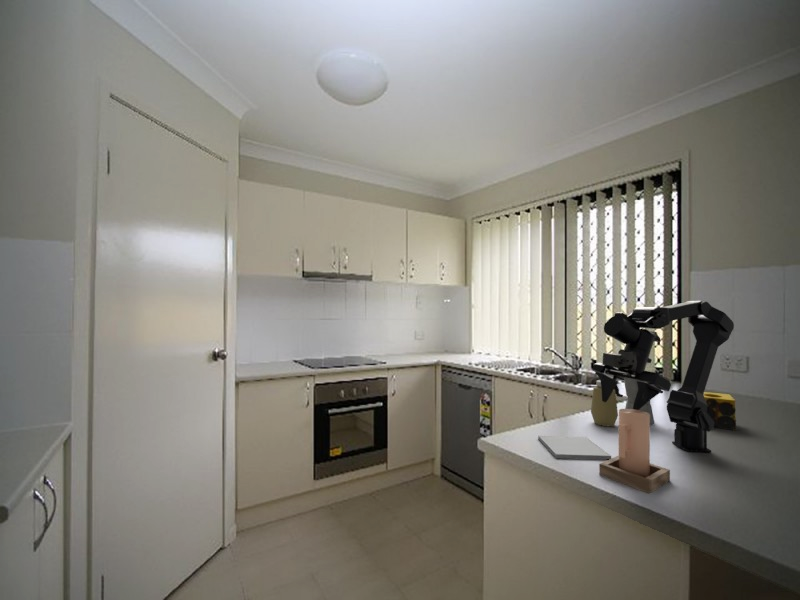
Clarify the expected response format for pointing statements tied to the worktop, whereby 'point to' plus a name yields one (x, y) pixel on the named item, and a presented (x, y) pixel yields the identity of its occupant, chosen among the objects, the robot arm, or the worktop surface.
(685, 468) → the worktop surface
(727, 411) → the yellow spotted cube
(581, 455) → the pad
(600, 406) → the squeeze bottle
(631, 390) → the coffeepot
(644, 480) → the collar
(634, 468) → the tan piece
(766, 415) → the worktop surface
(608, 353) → the robot arm
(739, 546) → the worktop surface
